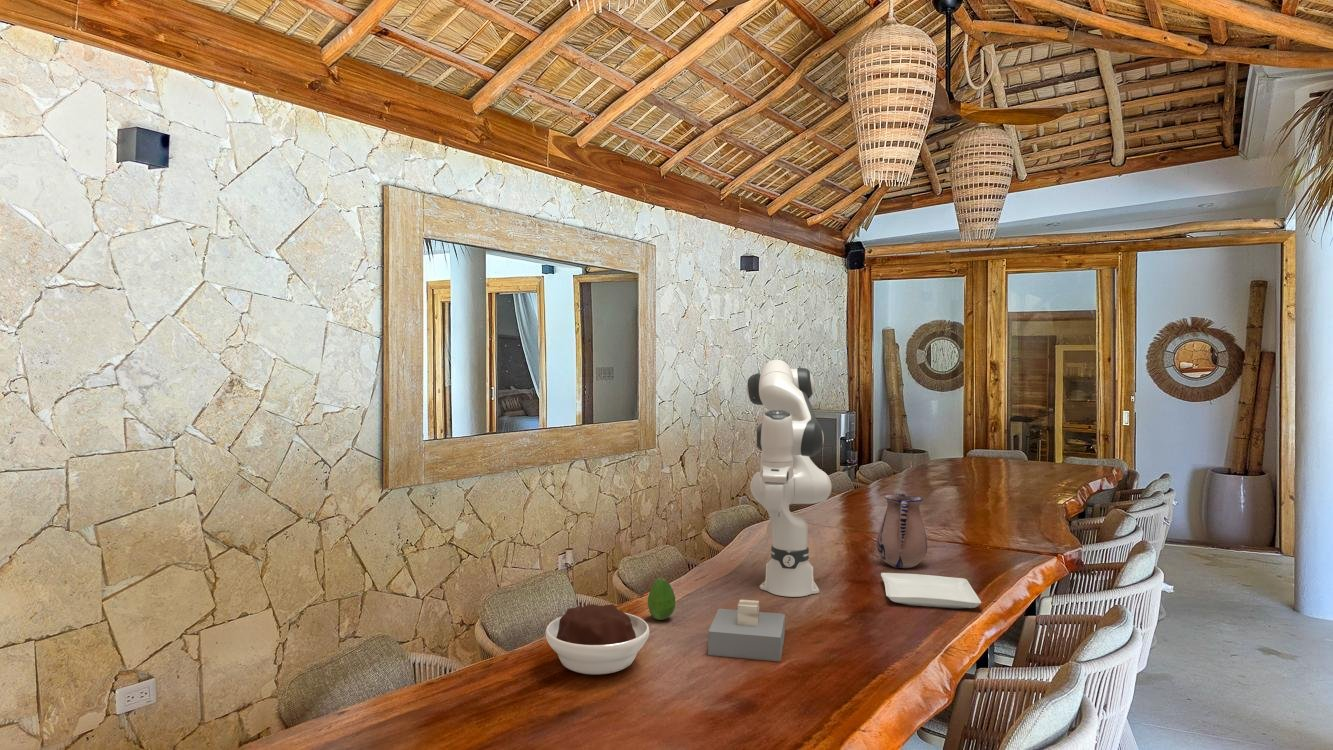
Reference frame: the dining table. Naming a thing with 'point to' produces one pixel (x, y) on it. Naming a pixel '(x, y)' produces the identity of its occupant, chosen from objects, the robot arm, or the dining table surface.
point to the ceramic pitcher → (902, 532)
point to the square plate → (930, 590)
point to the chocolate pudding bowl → (597, 638)
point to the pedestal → (747, 636)
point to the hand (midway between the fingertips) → (775, 521)
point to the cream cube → (748, 612)
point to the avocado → (661, 599)
